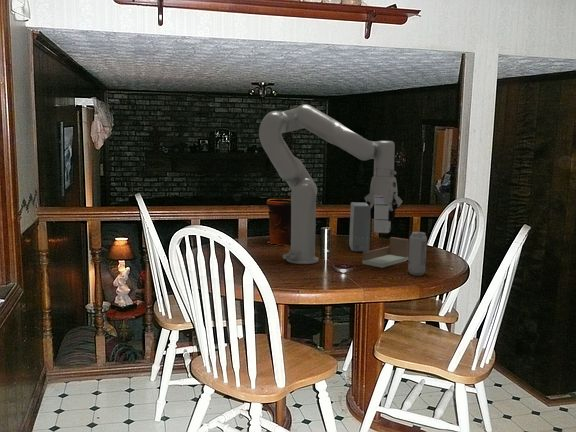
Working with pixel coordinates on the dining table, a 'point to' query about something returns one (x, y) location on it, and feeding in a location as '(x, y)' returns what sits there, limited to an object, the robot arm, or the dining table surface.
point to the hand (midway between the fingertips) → (382, 219)
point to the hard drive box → (359, 227)
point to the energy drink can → (417, 253)
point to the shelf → (388, 253)
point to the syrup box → (381, 215)
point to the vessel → (280, 221)
